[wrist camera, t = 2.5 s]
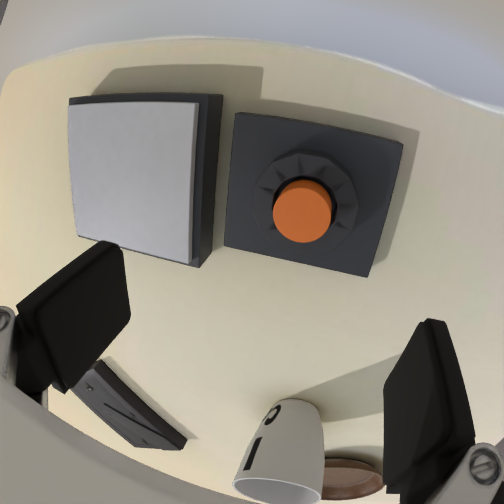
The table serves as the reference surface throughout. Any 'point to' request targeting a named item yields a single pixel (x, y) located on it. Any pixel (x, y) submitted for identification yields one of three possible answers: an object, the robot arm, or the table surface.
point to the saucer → (349, 479)
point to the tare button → (303, 211)
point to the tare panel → (314, 169)
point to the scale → (146, 171)
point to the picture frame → (125, 410)
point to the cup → (285, 456)
